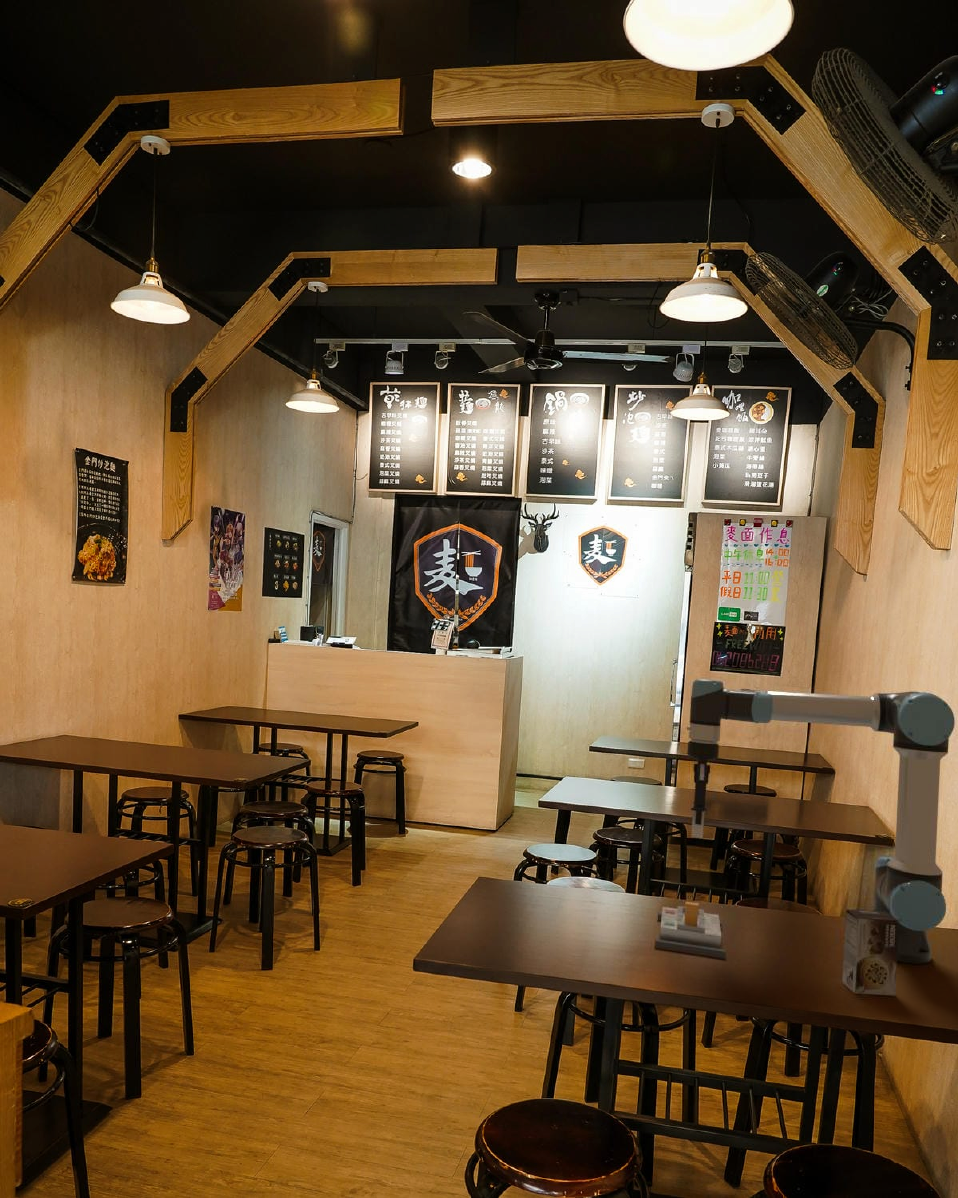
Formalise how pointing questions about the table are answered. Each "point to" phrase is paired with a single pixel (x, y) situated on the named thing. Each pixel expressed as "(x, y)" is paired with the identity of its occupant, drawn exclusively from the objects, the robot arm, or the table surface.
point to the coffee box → (870, 952)
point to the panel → (690, 928)
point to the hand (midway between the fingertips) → (697, 837)
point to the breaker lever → (691, 913)
